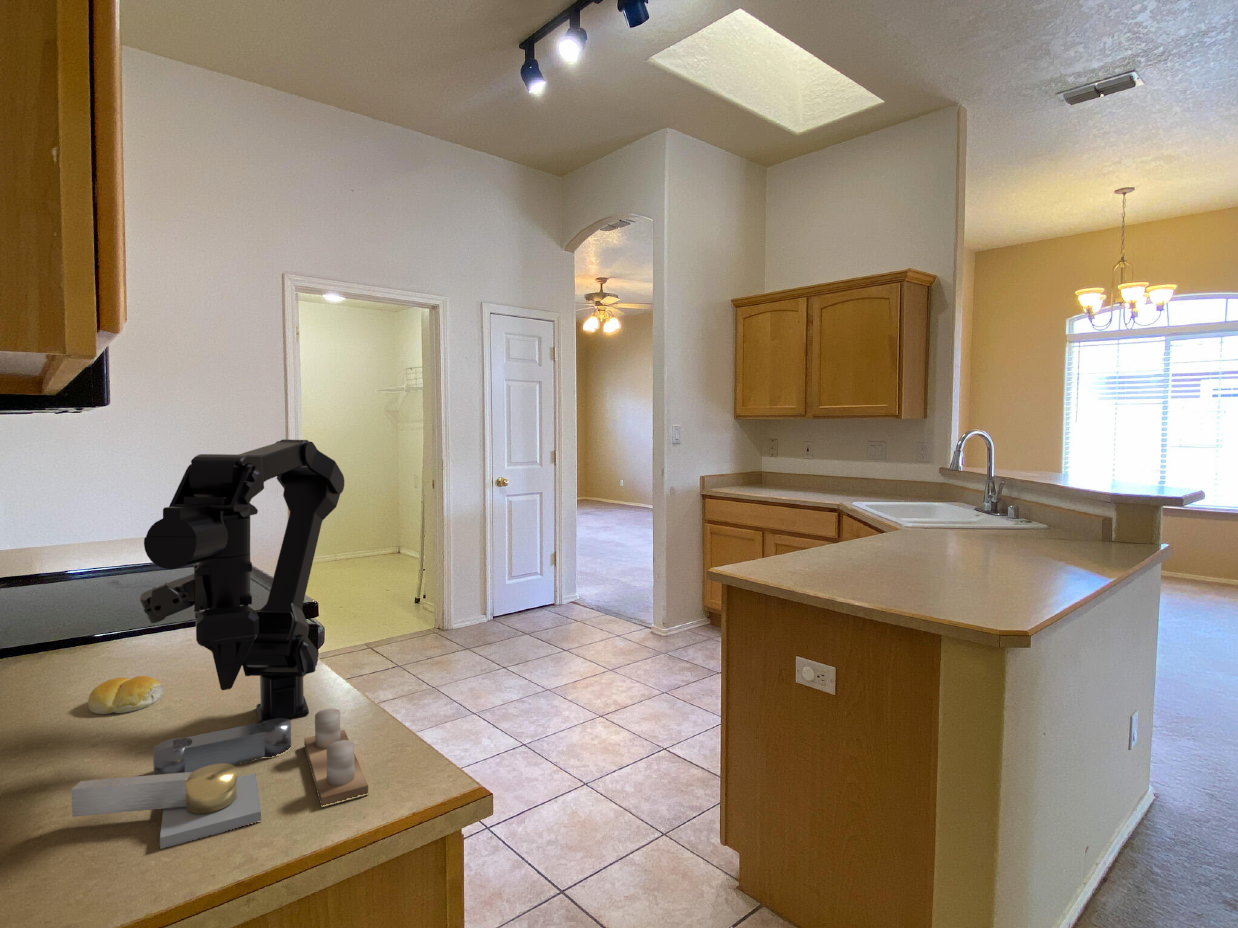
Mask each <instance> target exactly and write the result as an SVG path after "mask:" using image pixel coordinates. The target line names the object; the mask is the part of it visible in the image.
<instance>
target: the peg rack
mask: <svg viewBox="0 0 1238 928" xmlns="http://www.w3.org/2000/svg"><path fill="white" fill-rule="evenodd" d="M314 726H315V727H314V731H315V732H314V733H315V734H314V735H313V736H308V737H304V739H303V744H304V745H305V747H304V750H305V749H306V751H305V753H306V752H307V754H306V757H307V756H308V758H307V761H308V760H309V761H308V764H309V763H310V765H309V767H310V766H311V768H310V771H311V770H312V772H311V775H312V774H313V776H312V778H313V777H314V779H313V781H314V780H315V783H314V785H315V784H316V786H315V789H316V788H317V790H316V792H317V791H318V793H317V795H318V794H319V797H318V799H319V798H320V800H319V802H320V801H321V804H320V806H321V805H322V806H323V805H326V804H330V803H335V802H337V801H342V800H346V799H347V798H352V797H357V796H358V795H363V794H367V793H368V794H369V784H368V782H367V779H366V778H365V775H364V772H363V770H362V768H361V765H360V763H359V761H358V758H357V756H356V753H355V742H354V741H351V740H350V739H349V737H348V735H347V732H346V730H345V729H341V710H340V709H338V708H327V709H326V708H324V709H322V710H319V711H318V712H316V713H315V714H314ZM304 745H303V746H304Z"/></svg>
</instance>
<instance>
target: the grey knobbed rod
mask: <svg viewBox="0 0 1238 928" xmlns="http://www.w3.org/2000/svg"><path fill="white" fill-rule="evenodd" d="M291 724H292V723H291V720H290V718H288V719H286V718H275V719H270V720H267V721H264V722H261V723H259V722H256V723H251V724H247V725H242V726H237V727H232V728H226V729H222V730H217V731H212V732H208V733H202V734H197V735H193V736H192V735H191V736H187V737H175V738H171V739H168V740H164V741H162V742H159V743H158V744H157V745H155V746H154V747H153V748H152V759H153V760H152V763H153V764H152V765H153V775H161V774H173V773H185V772H194V771H196V770H197V769H200V768H202V767H205V766H209V765H213V764H221V763H226V764H232V765H234V766H237V765H241V764H240V763H242V764H245V762H246V763H250V761H251V762H253V761H252V760H255V759H259V760H261V759H260V758H262V757H272V756H276V755H277V754H281V753H283V752H285V751H286V750H288V749H289V748H290V747H291V748H292V725H291ZM255 761H256V760H255Z"/></svg>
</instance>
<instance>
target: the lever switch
mask: <svg viewBox="0 0 1238 928" xmlns="http://www.w3.org/2000/svg"><path fill="white" fill-rule="evenodd" d="M237 776H238V775H237V767H236V765H232V764H226V763H221V764H213V765H209V766H205V767H202V768H200V769H197V770H196V771H194V772H185V773H173V774H161V775H154V774H151V775H141V776H140V775H138V776H127V777H126V776H125V777H116V778H115V777H114V778H103V779H91V780H80V781H79V782H78V783H77V784H76V785H74V786H73V787H72V788H71V789H70V790H71V813H72V817H73V818H75V817H76V818H77V817H86V816H94V815H95V816H96V815H107V814H116V813H117V814H119V813H129V812H137V811H147V810H148V811H149V810H150V811H151V810H159V809H160V810H162V809H163V808H173V807H184V806H186V810H187V811H188V812H190V813H194V814H204V813H210V812H214V811H217V810H220V809H222V808H224V807H226V806H228V805H230V804H231V803H232V802H233V801H234V800H235V799H236V797H237Z"/></svg>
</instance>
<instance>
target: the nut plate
mask: <svg viewBox="0 0 1238 928" xmlns="http://www.w3.org/2000/svg"><path fill="white" fill-rule="evenodd" d="M260 803H261V802H260V794H259V787H258V778H257V773H256V772H254V773H250V774H245V775H240V776H238V777H237V797H236V799H235V800H234V801H233V802H232V803H231V804H230V805H228V806H226V807H224V808H222V809H220V810H217V811H214V812H210V813H204V814H194V813H190V812H188V811H187V810H186V806H184V807H173V808H162V809H163V810H162V818H161V826H160V834H159V835H160V836H159V845H160V846H159V847H160V850H163V849H166V847H167V848H170V847H173V846H174V847H175V846H177V845H181V844H184V843H188V841H189V842H192V840H193V841H195V840H199V839H198V838H200V839H203V837H204V838H207V837H210V836H209V835H211V836H213V835H214V836H215V835H219V834H221V833H224V832H225V831H226V832H229V831H228V830H230V831H233V830H236V829H235V828H237V829H239V828H238V827H241V826H244V827H246V826H245V825H248V824H251V823H255V822H257V821H261V822H262V809H261V804H260ZM255 824H256V823H255ZM248 826H249V825H248ZM241 828H242V827H241ZM232 829H233V830H232ZM226 832H225V833H226Z"/></svg>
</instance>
